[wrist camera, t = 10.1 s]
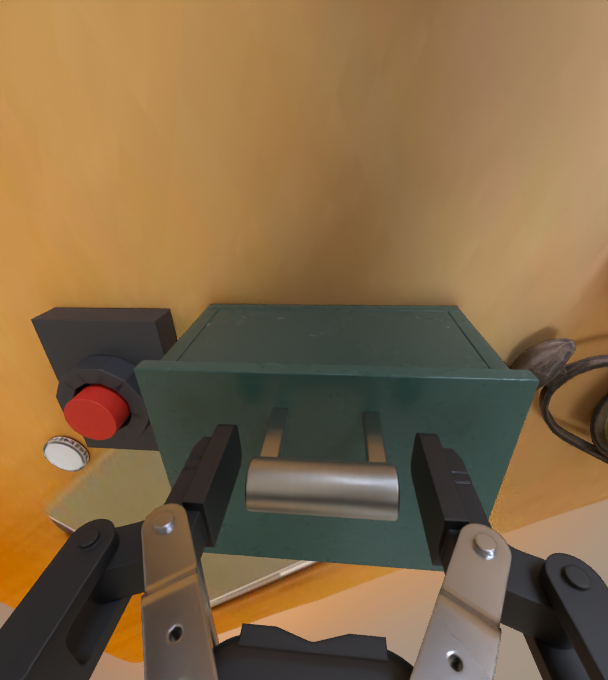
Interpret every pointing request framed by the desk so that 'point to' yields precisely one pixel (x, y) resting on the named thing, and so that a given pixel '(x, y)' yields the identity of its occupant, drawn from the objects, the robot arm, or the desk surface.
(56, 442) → the bottle cap
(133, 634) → the desk surface
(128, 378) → the switch block
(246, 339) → the dark green open box
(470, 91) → the desk surface
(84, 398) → the button
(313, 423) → the lid
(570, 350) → the brown handled cylinder
